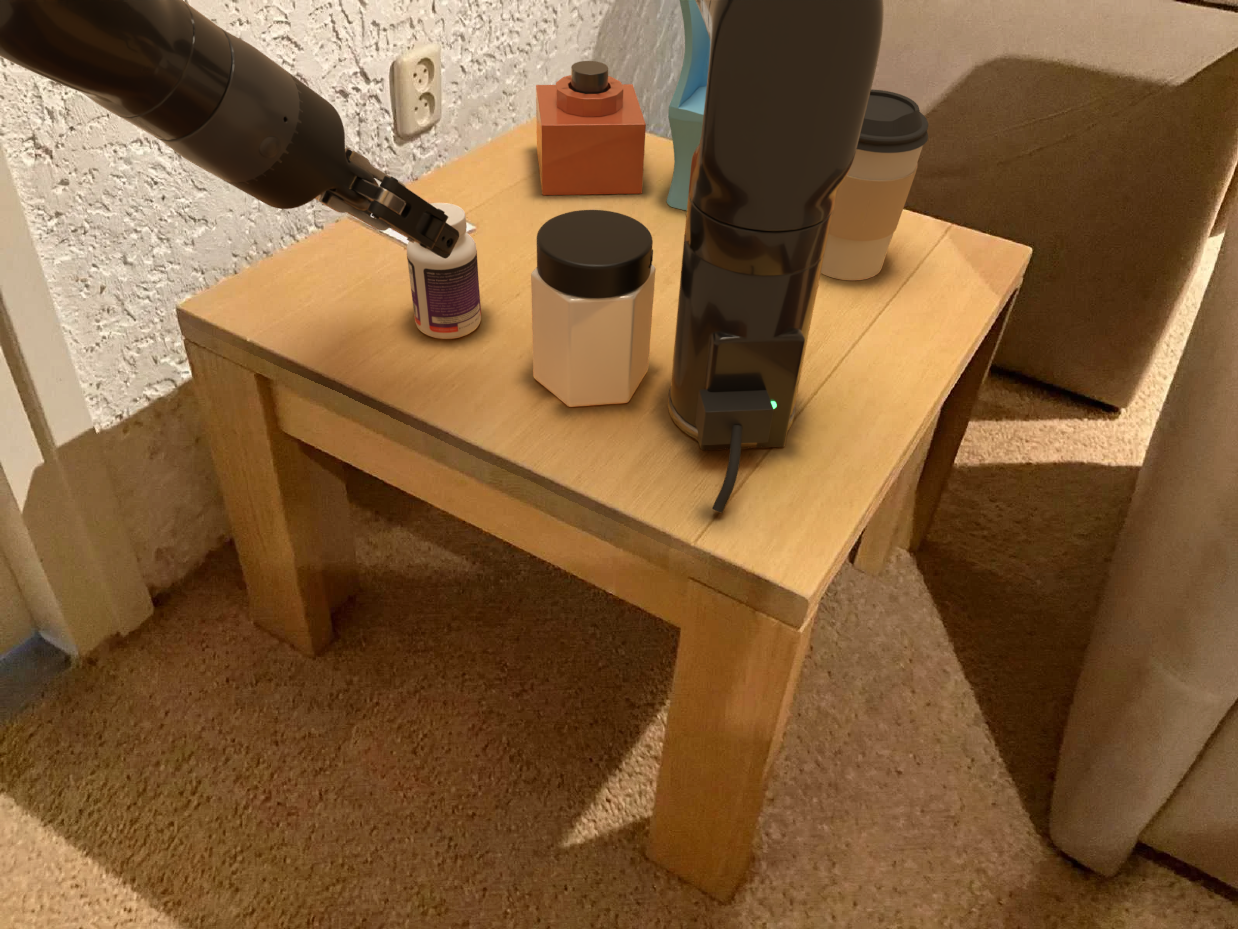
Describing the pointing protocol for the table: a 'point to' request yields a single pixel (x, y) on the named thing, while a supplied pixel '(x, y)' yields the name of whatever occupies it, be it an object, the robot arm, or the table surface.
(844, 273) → the coffee cup
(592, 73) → the box button
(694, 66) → the vase
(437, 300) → the pill bottle
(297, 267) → the table surface
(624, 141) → the orange box with knob
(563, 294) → the jar
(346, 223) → the table surface
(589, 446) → the table surface
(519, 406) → the table surface
